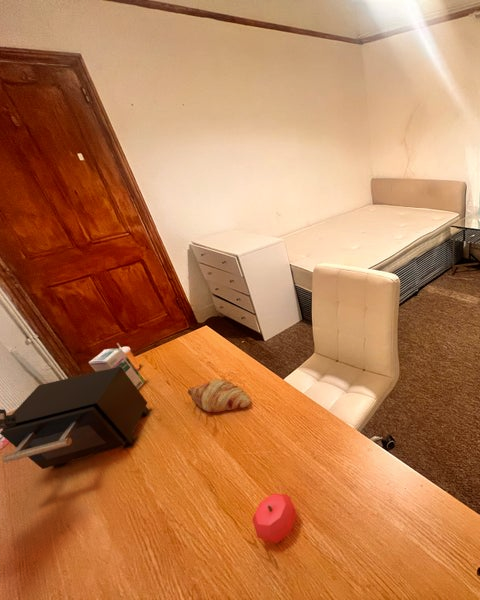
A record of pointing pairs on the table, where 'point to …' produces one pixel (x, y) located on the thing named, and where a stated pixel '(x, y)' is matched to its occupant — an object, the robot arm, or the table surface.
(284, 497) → the apple
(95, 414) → the oven door
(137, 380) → the syrup box
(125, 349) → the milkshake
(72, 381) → the oven
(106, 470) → the table surface
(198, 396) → the croissant
